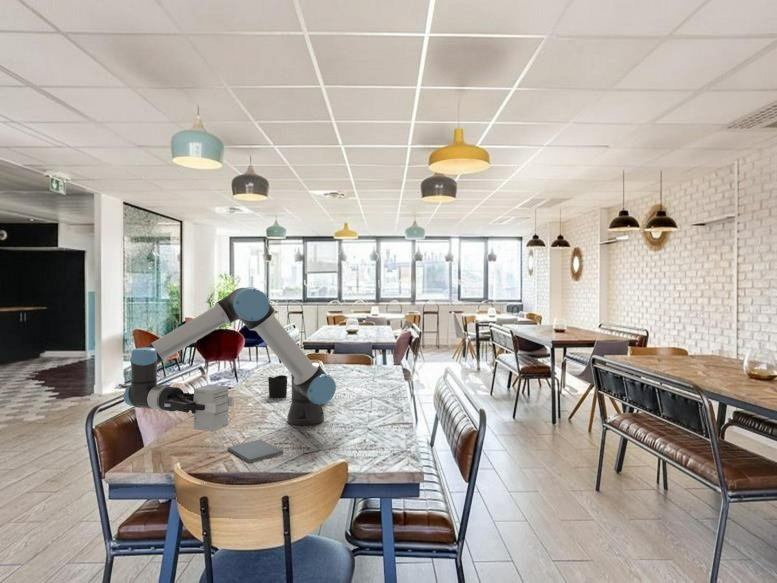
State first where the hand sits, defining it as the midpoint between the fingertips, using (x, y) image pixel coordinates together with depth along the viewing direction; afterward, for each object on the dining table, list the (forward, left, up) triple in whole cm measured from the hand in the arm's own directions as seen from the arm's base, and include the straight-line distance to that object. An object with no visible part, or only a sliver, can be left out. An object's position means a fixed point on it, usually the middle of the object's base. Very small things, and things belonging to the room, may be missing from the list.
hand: (224, 404), depth 141 cm
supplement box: (-4, -2, -8) cm, 9 cm away
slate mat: (-8, +14, -20) cm, 26 cm away
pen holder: (-74, +60, -20) cm, 98 cm away
